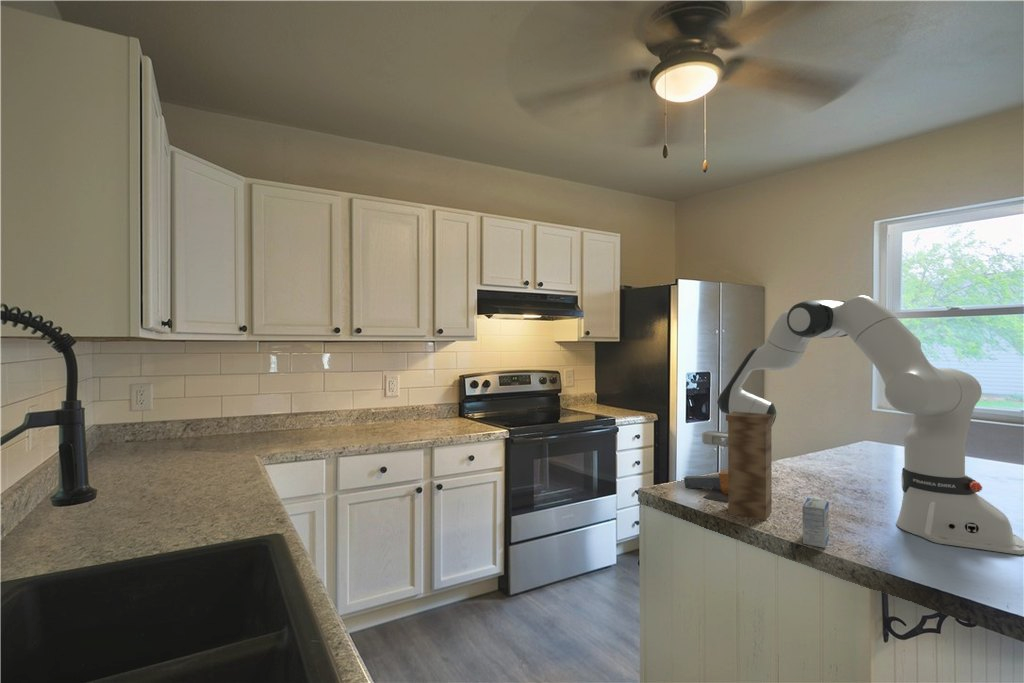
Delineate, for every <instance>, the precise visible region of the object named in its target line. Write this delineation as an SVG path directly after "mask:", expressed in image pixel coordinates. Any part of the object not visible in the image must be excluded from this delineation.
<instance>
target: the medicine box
mask: <svg viewBox="0 0 1024 683" xmlns="http://www.w3.org/2000/svg"><path fill="white" fill-rule="evenodd" d="M829 510H830V509H829V501H828V500H825V499H820V498H813V497H811V498H809V497H807V498H806V500H805V502H804V504H803V506H802V510H801V511H802V512H801V513H802V514H801V515H802V519H801V520H802V543H803V545H807V546H813V547H817V548H821V549H826V548H827V545H828V541H829V536H830V533H829V532H830V528H829V527H830V524H829V522H830V521H829V518H830V515H829V513H830V512H829Z"/></svg>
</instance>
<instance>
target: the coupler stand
mask: <svg viewBox="0 0 1024 683" xmlns="http://www.w3.org/2000/svg"><path fill="white" fill-rule="evenodd" d="M773 420H774V415H773V414H760V413H747V412H732V413H729V414H726V415H725V422H727V424H728V426H727V427H728V428H727V431H728V447H727V448H728V449H727V450H728V451H727V452H728V453H727V464H728V466H727V468H728V469H727V470H728V502H727V505H728V507H727V511H728V512H727V513H728V514H731V515H736V516H742V517H746V518H751V519H756V520H760V521H761V520H762V521H767V520H768V518H769V517H770V516H771V514H772V512H773V511H772V510H773V509H772V506H773V504H772V503H773V500H772V498H773V497H772V493H773V492H772V491H773V489H772V486H773V485H772V482H773V481H772V475H773V474H772V458H773V457H772V452H773V451H772V450H773V449H772V447H773V446H772V427H771V422H772V421H773ZM770 513H771V514H770Z"/></svg>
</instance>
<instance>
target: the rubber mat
mask: <svg viewBox="0 0 1024 683" xmlns="http://www.w3.org/2000/svg"><path fill="white" fill-rule="evenodd" d="M703 499H707V500H712V499H713V501H718V500H719V502H723V501H724V503H728V494H722V490H721V488H712V489H711V490H709V492H707V493H706V494H705V495H704V496H703Z"/></svg>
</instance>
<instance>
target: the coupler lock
mask: <svg viewBox="0 0 1024 683" xmlns="http://www.w3.org/2000/svg"><path fill="white" fill-rule="evenodd" d="M683 481H684V487H685V489H704V488H705V489H711V488H712V489H713V488H721V490H722V494H728V469H724V470H723V469H722V470H721V471H720V472H719V473H718V475H717V474H716V475H687V476H685V477H684V478H683Z"/></svg>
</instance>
